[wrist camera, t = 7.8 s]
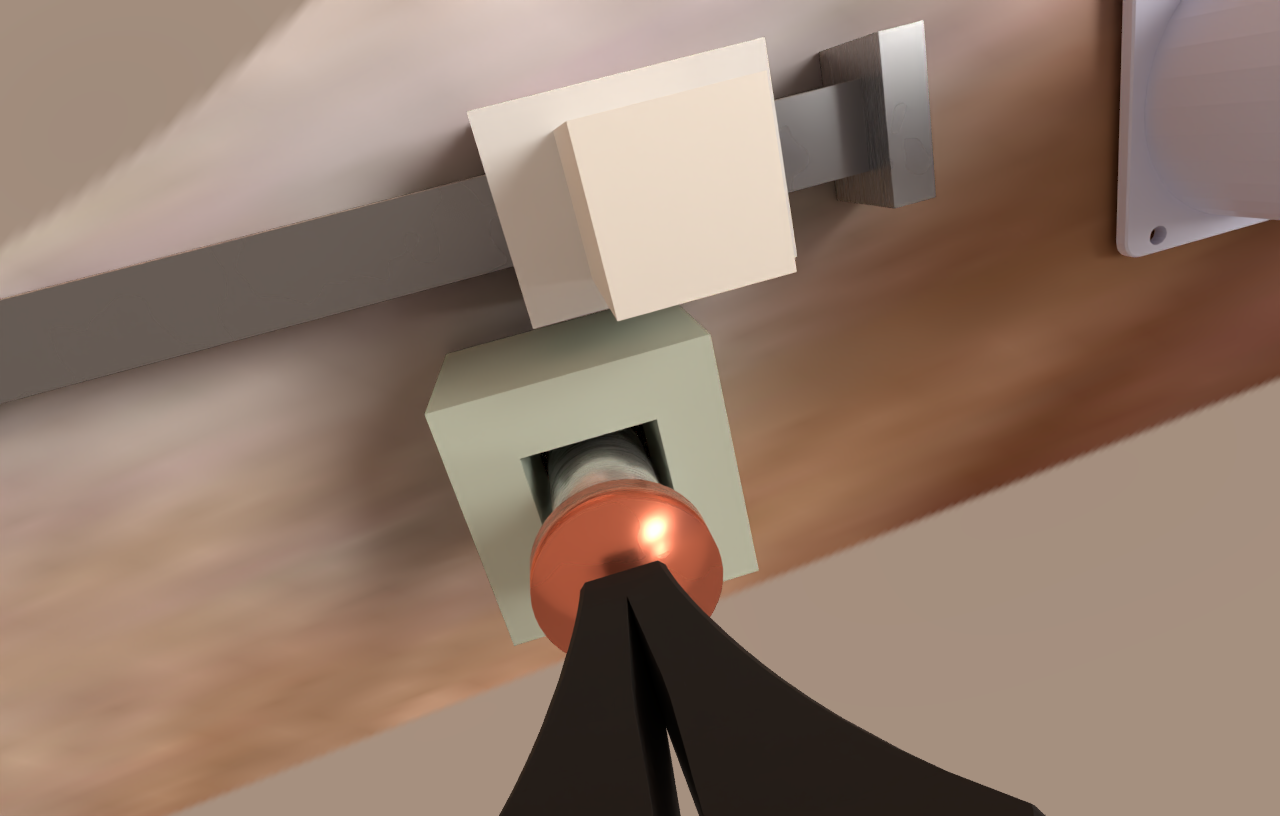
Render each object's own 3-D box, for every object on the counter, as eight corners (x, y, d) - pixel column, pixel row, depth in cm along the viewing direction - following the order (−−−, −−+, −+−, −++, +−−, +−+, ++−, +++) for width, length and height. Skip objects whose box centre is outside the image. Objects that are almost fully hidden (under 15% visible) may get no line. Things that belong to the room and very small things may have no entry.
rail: (857, 42, 17) (923, 19, 14) (872, 190, 18) (935, 197, 15) (-155, 299, 15) (-305, 331, 12) (-56, 441, 17) (-172, 499, 14)
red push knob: (647, 379, 16) (702, 475, 11) (677, 500, 18) (738, 633, 13) (508, 419, 16) (504, 533, 11) (549, 538, 17) (561, 689, 12)
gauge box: (666, 293, 18) (710, 334, 14) (709, 486, 21) (758, 570, 16) (446, 354, 18) (424, 414, 14) (515, 544, 20) (514, 645, 16)
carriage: (721, 57, 16) (858, -9, 10) (752, 240, 18) (887, 288, 11) (475, 119, 16) (445, 94, 9) (530, 300, 18) (538, 387, 11)
